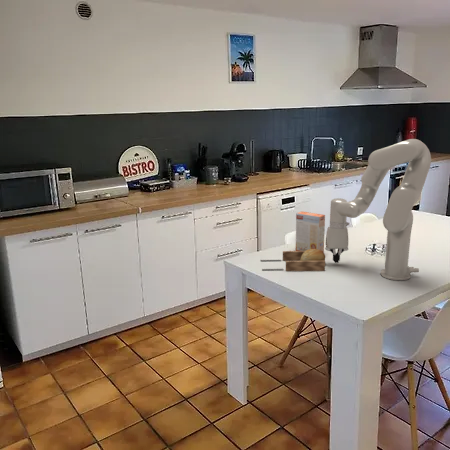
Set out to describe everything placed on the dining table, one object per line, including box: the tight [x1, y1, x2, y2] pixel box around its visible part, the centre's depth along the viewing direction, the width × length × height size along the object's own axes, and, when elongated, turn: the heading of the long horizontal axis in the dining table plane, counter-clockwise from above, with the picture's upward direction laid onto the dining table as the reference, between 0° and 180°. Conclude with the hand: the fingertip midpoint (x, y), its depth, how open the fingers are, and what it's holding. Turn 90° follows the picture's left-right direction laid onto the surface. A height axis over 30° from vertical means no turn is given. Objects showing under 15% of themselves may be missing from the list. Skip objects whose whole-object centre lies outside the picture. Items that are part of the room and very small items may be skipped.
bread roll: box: [300, 249, 326, 261], centre depth 215 cm, size 10×15×8 cm, turn 133°
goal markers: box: [260, 259, 285, 272], centre depth 217 cm, size 10×14×1 cm
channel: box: [282, 250, 326, 272], centre depth 216 cm, size 18×16×4 cm
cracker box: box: [295, 211, 326, 253], centre depth 232 cm, size 14×6×21 cm, turn 47°
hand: (336, 261), depth 215 cm, fingers closed
